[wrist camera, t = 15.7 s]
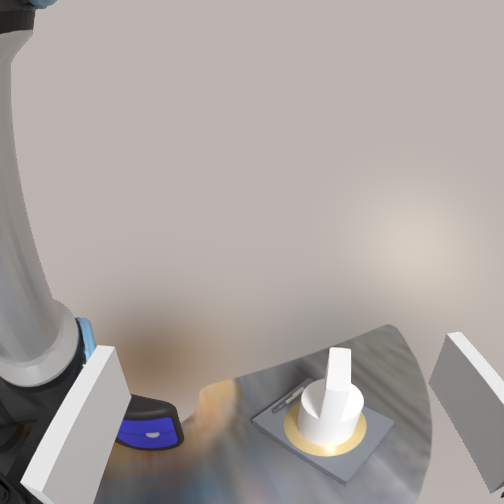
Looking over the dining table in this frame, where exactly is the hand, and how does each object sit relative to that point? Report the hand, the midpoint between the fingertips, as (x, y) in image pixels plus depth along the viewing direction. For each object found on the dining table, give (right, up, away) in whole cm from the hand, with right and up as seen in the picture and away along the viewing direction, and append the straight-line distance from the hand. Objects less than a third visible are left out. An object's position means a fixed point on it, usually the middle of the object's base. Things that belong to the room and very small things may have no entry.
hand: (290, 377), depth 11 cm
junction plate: (+10, -23, +31) cm, 40 cm away
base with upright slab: (+10, -22, +30) cm, 39 cm away
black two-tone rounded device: (-19, -24, +29) cm, 43 cm away
